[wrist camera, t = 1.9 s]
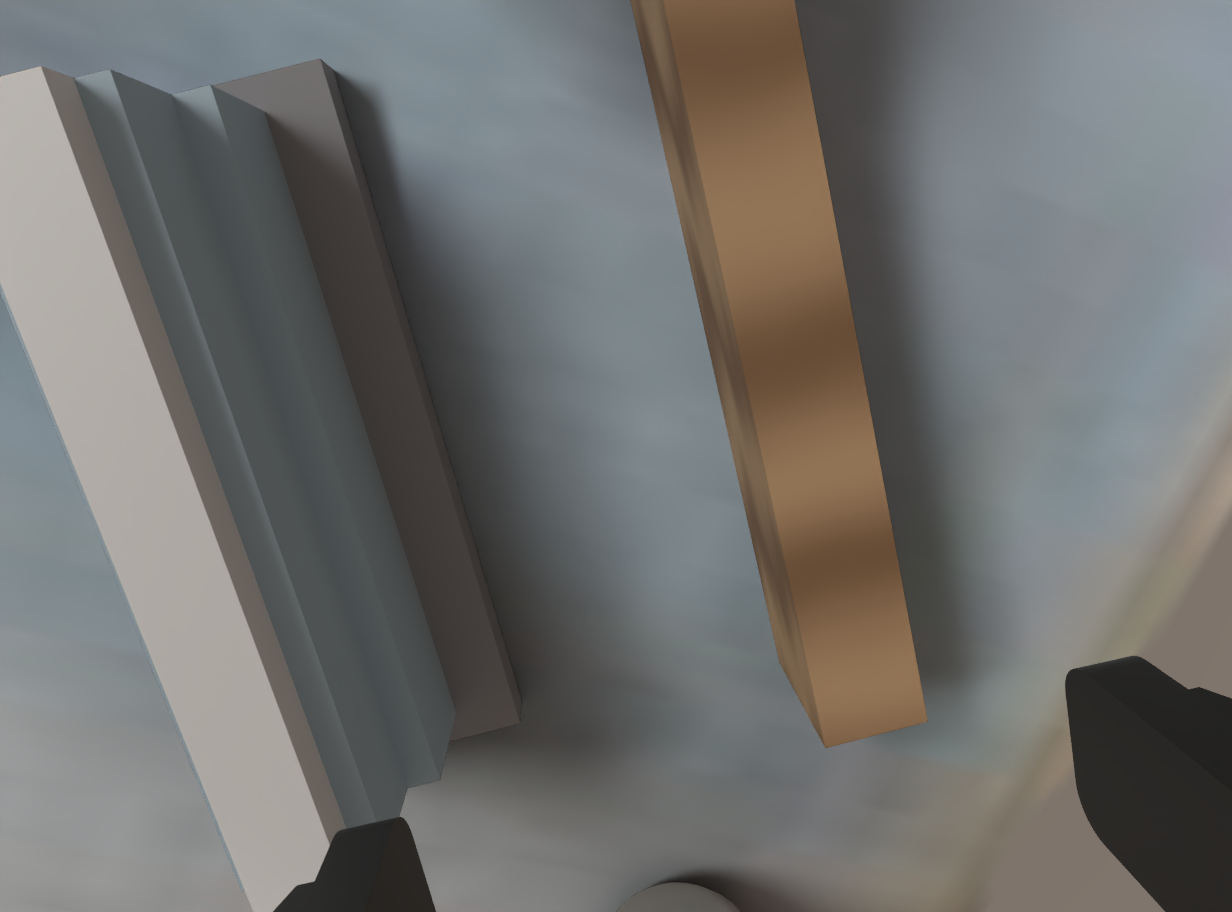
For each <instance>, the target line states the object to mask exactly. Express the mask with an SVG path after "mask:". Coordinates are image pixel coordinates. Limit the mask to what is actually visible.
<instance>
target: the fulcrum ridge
mask: <svg viewBox="0 0 1232 912" xmlns="http://www.w3.org/2000/svg"><path fill="white" fill-rule="evenodd" d="M0 294H1V296H2V298H3V301H4V303H5V306H6V308H7V311H8V313H9V316H10V318H11V321H12V323H13V326H14V328H15V331H16V333H17V336H18V338H19V341H20V343H21V346H22V348H23V351H24V353H25V355H26V358H27V360H28V363H29V365H30V368H31V370H32V373H33V375H34V378H35V380H36V383H37V385H38V388H39V390H40V393H41V395H42V398H43V400H44V403H45V405H46V407H47V410H48V412H49V415H50V417H51V420H52V422H53V425H54V427H55V430H56V432H57V435H58V437H59V440H60V442H61V445H62V447H63V450H64V452H65V455H66V457H67V460H68V462H69V464H70V467H71V469H72V472H73V474H74V477H75V479H76V482H77V484H78V487H79V489H80V492H81V494H82V497H83V499H84V502H85V504H86V507H87V509H88V512H89V514H90V517H91V519H92V521H93V524H94V526H95V529H96V531H97V534H98V536H99V539H100V541H101V544H102V546H103V549H104V551H105V554H106V556H107V559H108V561H109V564H110V566H111V569H112V571H113V574H114V576H115V578H116V581H117V583H118V586H119V588H120V591H121V593H122V596H123V598H124V601H125V603H126V606H127V608H128V611H129V613H130V616H131V618H132V621H133V623H134V626H135V628H136V630H137V633H138V635H139V638H140V640H141V643H142V645H143V648H144V650H145V653H146V655H147V658H148V660H149V663H150V665H151V668H152V670H153V673H154V675H155V678H156V680H157V683H158V685H159V687H160V690H161V692H162V695H163V697H164V700H165V702H166V705H167V707H168V710H169V712H170V715H171V717H172V720H173V722H174V725H175V727H176V730H177V732H178V735H179V737H180V740H181V742H182V744H183V747H184V749H185V752H186V754H187V757H188V759H189V762H190V764H191V767H192V769H193V772H194V774H195V777H196V779H197V782H198V784H199V787H200V789H201V792H202V794H203V796H204V799H205V801H206V804H207V806H208V809H209V811H210V814H211V816H212V819H213V821H214V824H215V826H216V829H217V831H218V834H219V836H220V839H221V841H222V844H223V846H224V849H225V851H226V853H227V856H228V858H229V861H230V863H231V866H232V868H233V871H234V873H235V876H236V878H237V881H238V883H239V886H240V888H241V891H242V892H243V891H245V892H246V895H247V897H248V900H249V902H250V905H251V907H252V910H253V912H273V911H274V910H275V909H276V908H277V906H278V905H279V904H280V903H281V902H282V901H283V900H284V899H285V898H286V897H287V895H288V894H289V893H290V892H291V891H292V890H293V889H294V888H295V887H296V885H301V884H305V883H310V882H314V881H315V879H316V877H317V875H318V872H319V870H320V868H321V865H322V863H323V860H324V858H325V856H326V853H327V851H328V849H329V846H330V844H331V842H332V839H333V837H334V836H335V834H336V833H337V832H338V831H339V830H343V829H347V828H352V827H356V826H361V825H365V824H370V823H374V822H379V821H383V820H388V819H392V818H397V817H399V816H400V812H401V809H402V805H403V802H404V799H405V795H406V792H407V789H408V788H411V787H414V786H418V785H422V784H426V783H430V782H434V781H438V780H440V778H441V774H442V770H443V765H444V761H445V757H446V753H447V749H448V744H449V742H450V741H454V740H458V739H462V738H466V737H470V736H474V735H478V734H481V733H485V732H489V731H493V730H497V729H501V728H505V727H509V726H513V725H517V724H520V720H521V710H522V700H521V697H520V693H519V690H518V686H517V683H516V680H515V676H514V673H513V670H512V666H511V663H510V660H509V656H508V653H507V650H506V646H505V643H504V640H503V636H502V633H501V630H500V626H499V623H498V619H497V616H496V613H495V609H494V606H493V603H492V599H491V596H490V593H489V589H488V586H487V583H486V579H485V576H484V573H483V569H482V566H481V563H480V559H479V556H478V552H477V549H476V546H475V542H474V539H473V536H472V532H471V529H470V526H469V522H468V519H467V516H466V512H465V509H464V506H463V502H462V499H461V496H460V492H459V489H458V485H457V482H456V479H455V475H454V472H453V469H452V465H451V462H450V459H449V455H448V452H447V449H446V445H445V442H444V439H443V435H442V432H441V429H440V425H439V422H438V418H437V415H436V412H435V408H434V405H433V402H432V398H431V395H430V392H429V388H428V385H427V382H426V378H425V375H424V372H423V368H422V365H421V362H420V358H419V355H418V351H417V348H416V345H415V341H414V338H413V335H412V331H411V328H410V325H409V321H408V318H407V315H406V311H405V308H404V305H403V301H402V298H401V295H400V291H399V288H398V285H397V281H396V278H395V274H394V271H393V268H392V264H391V261H390V258H389V254H388V251H387V248H386V244H385V241H384V238H383V234H382V231H381V228H380V224H379V221H378V218H377V214H376V211H375V207H374V204H373V201H372V197H371V194H370V191H369V187H368V184H367V181H366V177H365V174H364V171H363V167H362V164H361V161H360V157H359V154H358V151H357V147H356V144H355V140H354V137H353V134H352V130H351V127H350V124H349V120H348V117H347V114H346V110H345V107H344V104H343V100H342V97H341V94H340V90H339V87H338V84H337V80H336V77H335V73H334V70H333V69H332V68H331V67H330V66H328V65H327V64H326V63H325V62H323V61H322V60H321V59H317V60H313V61H309V62H305V63H301V64H297V65H293V66H289V67H285V68H281V69H277V70H273V71H269V72H265V73H261V74H257V75H253V76H249V77H245V78H241V79H237V80H233V81H229V82H225V83H221V84H217V85H213V86H212V85H207V86H203V87H199V88H195V89H192V90H188V91H184V92H180V93H176V94H172V95H171V94H168V93H166V92H164V91H161V90H159V89H156V88H154V87H152V86H149V85H147V84H144V83H142V82H140V81H137V80H135V79H132V78H130V77H128V76H125V75H123V74H120V73H118V72H116V71H113V70H111V69H108V70H104V71H100V72H96V73H92V74H88V75H84V76H80V77H76V78H72V77H69V76H66V75H63V74H61V73H58V72H55V71H52V70H50V69H47V68H44V67H42V66H40V67H36V68H32V69H28V70H24V71H20V72H16V73H12V74H8V75H4V76H0Z"/></svg>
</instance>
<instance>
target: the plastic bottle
mask: <svg viewBox="0 0 1232 912" xmlns="http://www.w3.org/2000/svg"><path fill="white" fill-rule="evenodd" d="M616 912H740V911H739V909H738V908H737V907H736V906H735V905H734V904H733V903H732V902H731V901H729V900H728V899H726V898H725V897H723V896H722V895H721V894H718V893H716V892H714V891H711V890H709V889H707V888H704V887H702V886H700V885H695V884H691V883H683V882H671V883H664V884H659V885H656V886H653V887H650V888H647V889H645V890H643V891H641V892H639V893H637V894H635V895H634V896H633V897H631V898H630V899H629V900H628V901H626V902H625V903H624V904H623V905H622V906H621V907H620V908H619V909H618V910H617V911H616Z"/></svg>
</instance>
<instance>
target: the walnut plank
mask: <svg viewBox="0 0 1232 912" xmlns="http://www.w3.org/2000/svg"><path fill="white" fill-rule="evenodd" d="M630 1H631V5H632V10H633V14H634V18H635V23H636V27H637V32H638V36H639V41H640V45H641V50H642V54H643V58H644V63H645V67H646V72H647V76H648V81H649V85H650V90H651V94H652V98H653V103H654V107H655V112H656V116H657V121H658V125H659V129H660V134H661V138H662V143H663V147H664V152H665V156H666V161H667V165H668V169H669V174H670V178H671V183H672V187H673V192H674V196H675V201H676V205H677V209H678V214H679V218H680V223H681V227H682V232H683V236H684V241H685V245H686V249H687V254H688V258H689V263H690V267H691V272H692V276H693V280H694V285H695V289H696V294H697V298H698V303H699V307H700V312H701V316H702V320H703V325H704V329H705V334H706V338H707V343H708V347H709V352H710V356H711V360H712V365H713V369H714V374H715V378H716V383H717V387H718V391H719V396H720V400H721V405H722V409H723V414H724V418H725V423H726V427H727V431H728V436H729V440H730V445H731V449H732V454H733V458H734V463H735V467H736V471H737V476H738V480H739V485H740V489H741V494H742V498H743V503H744V507H745V511H746V516H747V520H748V525H749V529H750V534H751V538H752V542H753V547H754V551H755V556H756V560H757V565H758V569H759V574H760V578H761V582H762V587H763V591H764V596H765V600H766V605H767V609H768V614H769V618H770V622H771V627H772V631H773V636H774V640H775V645H776V649H777V654H778V658H779V662H780V664H781V666H782V668H783V670H784V672H785V674H786V675H787V677H788V679H789V681H790V683H791V685H792V687H793V689H794V690H795V692H796V694H797V696H798V698H799V700H800V702H801V703H802V705H803V707H804V709H805V711H806V713H807V715H808V717H809V718H810V720H811V722H812V724H813V726H814V728H815V730H816V731H817V733H818V735H819V737H820V739H821V741H822V743H823V745H824V746H825V748H828V747H832V746H835V745H839V744H843V743H847V742H851V741H855V740H859V739H863V738H866V737H870V736H874V735H878V734H882V733H886V732H890V731H893V730H897V729H901V728H905V727H909V726H913V725H917V724H920V723H924V722H928V720H927V715H926V709H925V704H924V698H923V693H922V688H921V682H920V677H919V671H918V666H917V660H916V655H915V650H914V644H913V639H912V633H911V628H910V623H909V617H908V612H907V606H906V601H905V596H904V590H903V585H902V579H901V574H900V569H899V563H898V558H897V552H896V547H895V542H894V536H893V531H892V525H891V520H890V514H889V509H888V504H887V498H886V493H885V487H884V482H883V477H882V471H881V466H880V460H879V455H878V450H877V444H876V439H875V433H874V428H873V423H872V417H871V412H870V406H869V401H868V396H867V390H866V385H865V379H864V374H863V369H862V363H861V358H860V352H859V347H858V342H857V336H856V331H855V325H854V320H853V314H852V309H851V304H850V298H849V293H848V287H847V282H846V277H845V271H844V266H843V260H842V255H841V250H840V244H839V239H838V233H837V228H836V223H835V217H834V212H833V206H832V201H831V196H830V190H829V185H828V179H827V174H826V169H825V163H824V158H823V152H822V147H821V141H820V136H819V131H818V125H817V120H816V114H815V109H814V104H813V98H812V93H811V87H810V82H809V77H808V71H807V66H806V60H805V55H804V50H803V44H802V39H801V33H800V28H799V23H798V17H797V12H796V6H795V1H794V0H630Z"/></svg>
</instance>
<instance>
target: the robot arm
mask: <svg viewBox="0 0 1232 912" xmlns="http://www.w3.org/2000/svg"><path fill="white" fill-rule="evenodd" d="M1065 690H1066V700H1067V709H1068V717H1069V726H1070V735H1071V743H1072V752H1073V761H1074V769H1075V778H1076V785H1077V790H1078V794H1079V798H1080V801H1081V804H1082V807H1083V810H1084V812H1085V814H1086V816H1087V819H1088V821H1089V822H1090V824H1091V826H1092V828H1093V830H1094V831H1095V833H1096V834H1097V836H1098V837H1099V839H1100V840H1101V841H1102V842H1103V844H1104V845H1105V846H1106V847H1107V848H1108V849H1109V850H1110V851H1111V852H1112V853H1113V855H1114V856H1115V857H1116V858H1117V859H1118V860H1119V861H1120V862H1121V863H1122V865H1123V866H1124V867H1125V868H1126V869H1127V870H1128V871H1129V872H1130V873H1131V874H1132V876H1133V877H1134V878H1135V879H1136V880H1137V881H1138V882H1139V883H1140V884H1141V885H1142V887H1143V888H1144V889H1145V890H1146V891H1147V892H1148V893H1149V894H1150V895H1151V896H1152V897H1153V899H1155V901H1156V902H1157V903H1158V904H1159V905H1160V906H1161V907H1162V908H1163V910H1164V911H1165V912H1232V699H1231V698H1229V697H1226V696H1223V695H1220V694H1217V693H1214V692H1211V691H1209V690H1206V689H1203V688H1200V687H1198V688H1193V689H1190V690H1188V689H1187V688H1185V687H1184V686H1182V685H1181V684H1180V683H1178V682H1177V681H1175V680H1173V679H1172V678H1171V677H1169V676H1168V675H1166V674H1165V673H1164V672H1162V671H1161V670H1159V669H1158V668H1156V667H1155V666H1153V665H1152V664H1151V663H1149V662H1148V661H1146V660H1144V659H1143V658H1141V657H1138V656H1130V657H1125V658H1121V659H1116V660H1112V661H1107V662H1103V663H1098V664H1094V665H1089V666H1085V667H1080V668H1076V669H1072V670H1070V671H1069V672H1068V674H1067V676H1066V682H1065ZM273 912H436V910H435V907H434V904H433V901H432V897H431V894H430V891H429V888H428V884H427V881H426V878H425V875H424V871H423V868H422V865H421V862H420V858H419V855H418V852H417V849H416V845H415V842H414V839H413V836H412V833H411V830H410V828H409V825H408V824H407V822H406V821H405V820H404V818H402V817H397V818H392V819H388V820H383V821H379V822H374V823H370V824H365V825H361V826H356V827H352V828H347V829H343V830H339V831H338V832H337V833H336V834H335V836H334V837H333V839H332V842H331V844H330V846H329V849H328V851H327V853H326V856H325V858H324V860H323V863H322V865H321V868H320V870H319V872H318V875H317V877H316V879H315V881H314V882H310V883H305V884H301V885H296V887H295V888H294V889H293V890H292V891H291V892H290V893H289V894H288V895H287V897H286V898H285V899H284V900H283V901H282V902H281V903H280V904H279V905H278V906H277V908H276V909H275V910H274V911H273Z"/></svg>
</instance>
